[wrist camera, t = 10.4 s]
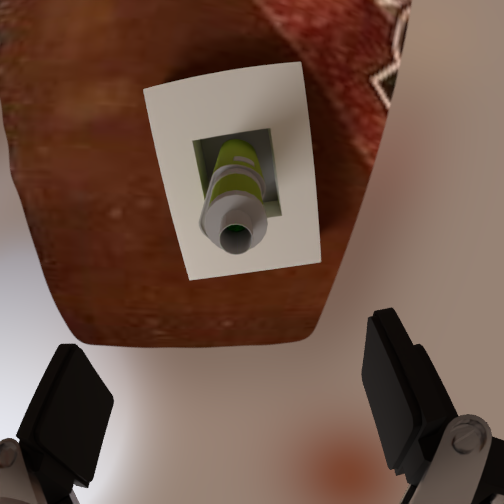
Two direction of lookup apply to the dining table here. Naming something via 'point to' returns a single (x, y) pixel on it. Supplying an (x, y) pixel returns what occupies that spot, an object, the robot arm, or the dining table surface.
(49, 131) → the dining table surface
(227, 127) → the charging dock
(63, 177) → the dining table surface
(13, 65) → the dining table surface
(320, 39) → the dining table surface
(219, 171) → the vape
